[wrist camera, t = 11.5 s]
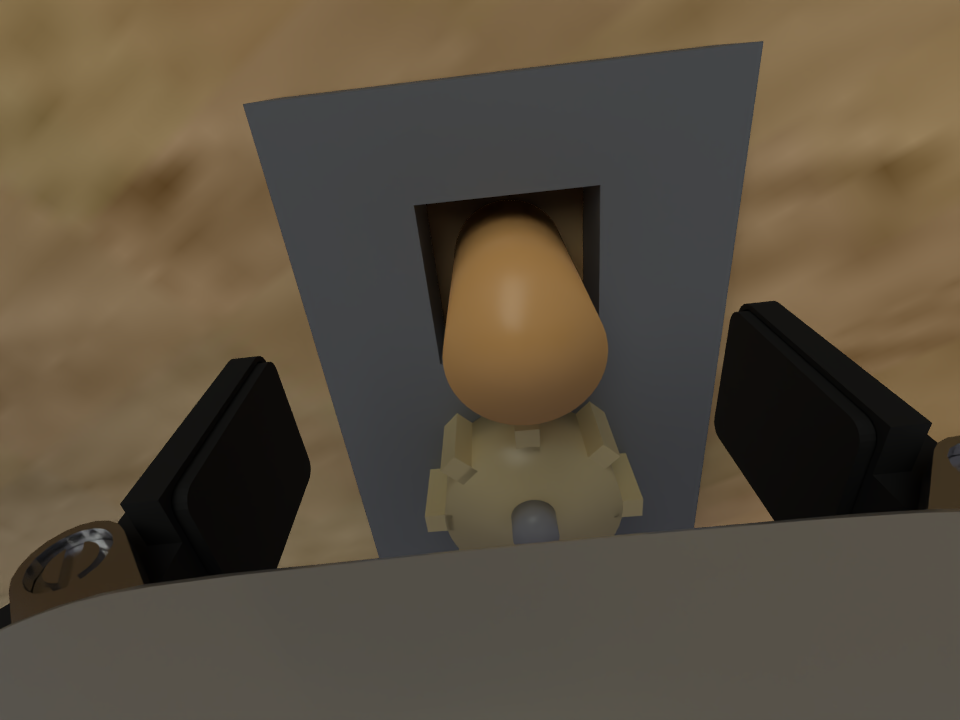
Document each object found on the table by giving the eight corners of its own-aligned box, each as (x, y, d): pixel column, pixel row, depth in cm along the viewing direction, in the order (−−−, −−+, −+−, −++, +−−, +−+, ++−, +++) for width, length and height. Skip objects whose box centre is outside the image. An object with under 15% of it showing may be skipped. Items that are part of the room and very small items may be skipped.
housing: (279, 97, 17) (178, 115, 11) (716, 44, 16) (846, 34, 10) (394, 528, 27) (372, 652, 21) (668, 506, 26) (720, 629, 20)
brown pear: (448, 205, 19) (430, 290, 12) (559, 193, 18) (609, 272, 11) (462, 307, 21) (454, 431, 14) (562, 297, 20) (606, 418, 13)
